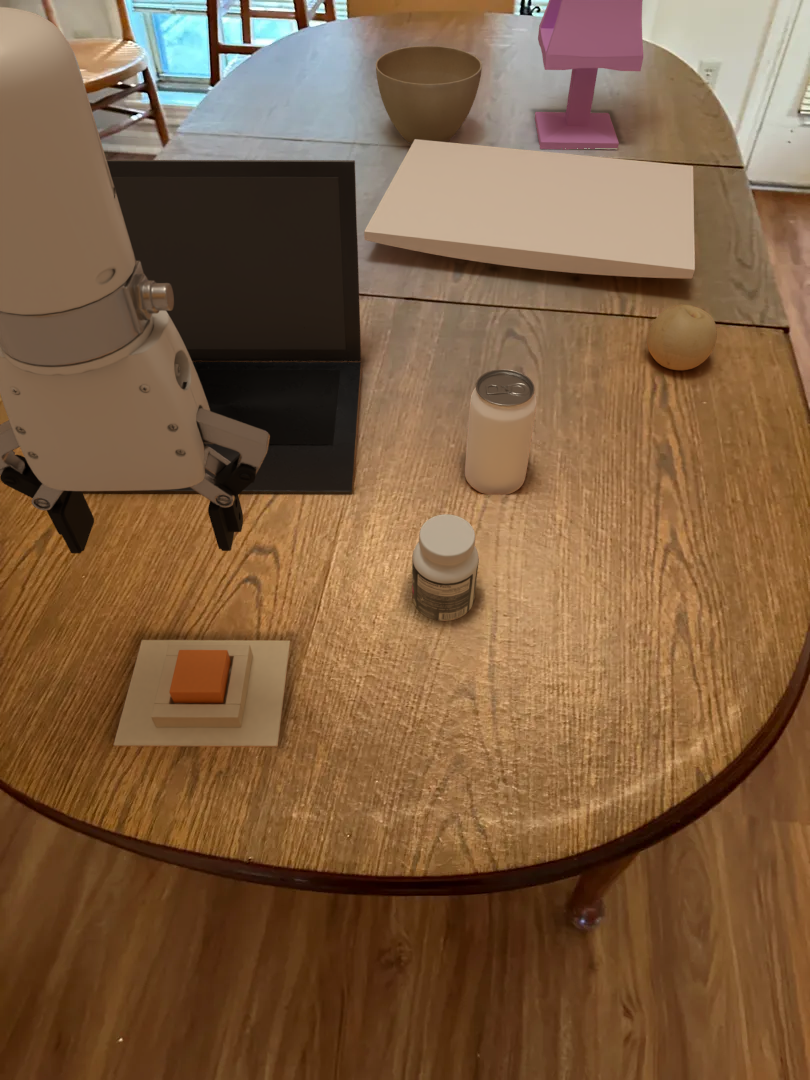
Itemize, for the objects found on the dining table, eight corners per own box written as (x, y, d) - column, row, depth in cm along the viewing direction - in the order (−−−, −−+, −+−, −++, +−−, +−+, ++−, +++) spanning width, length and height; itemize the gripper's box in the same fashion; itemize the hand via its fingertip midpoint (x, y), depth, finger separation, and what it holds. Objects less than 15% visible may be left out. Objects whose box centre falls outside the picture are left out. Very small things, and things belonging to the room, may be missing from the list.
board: (365, 262, 113) (364, 231, 110) (414, 167, 134) (414, 139, 130) (685, 301, 107) (694, 269, 103) (685, 195, 127) (693, 166, 124)
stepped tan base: (118, 753, 63) (106, 734, 61) (145, 649, 70) (136, 628, 67) (279, 754, 63) (274, 735, 61) (292, 649, 70) (288, 628, 67)
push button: (173, 703, 63) (168, 692, 62) (183, 661, 66) (178, 649, 64) (223, 703, 63) (219, 692, 62) (231, 661, 66) (227, 649, 64)
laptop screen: (354, 161, 82) (355, 160, 83) (69, 160, 83) (72, 159, 83) (360, 361, 95) (361, 359, 95) (112, 361, 95) (114, 358, 95)
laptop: (352, 503, 81) (351, 490, 80) (64, 502, 82) (58, 489, 80) (361, 374, 96) (360, 361, 95) (116, 373, 96) (112, 360, 95)
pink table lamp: (529, 116, 149) (555, -123, 122) (611, 117, 148) (656, -122, 122) (534, 151, 138) (565, -102, 112) (623, 152, 138) (675, -101, 112)
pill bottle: (424, 573, 75) (426, 501, 68) (481, 591, 74) (490, 519, 66) (402, 618, 72) (402, 548, 64) (462, 637, 70) (469, 567, 63)
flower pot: (357, 136, 143) (353, 62, 133) (429, 110, 151) (430, 38, 141) (424, 169, 134) (426, 91, 125) (497, 139, 142) (504, 64, 133)
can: (528, 498, 82) (543, 408, 73) (466, 498, 82) (473, 408, 73) (521, 456, 86) (535, 366, 77) (462, 456, 86) (469, 366, 77)
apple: (625, 356, 98) (647, 293, 95) (669, 366, 102) (690, 306, 99) (672, 372, 91) (696, 305, 89) (716, 381, 96) (740, 317, 93)
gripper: (251, 265, 42) (291, 494, 54) (-73, 272, 42) (43, 498, 55) (231, 348, 37) (280, 578, 49) (-136, 354, 37) (8, 582, 50)
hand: (156, 536), depth 52 cm, fingers open, 9 cm apart
